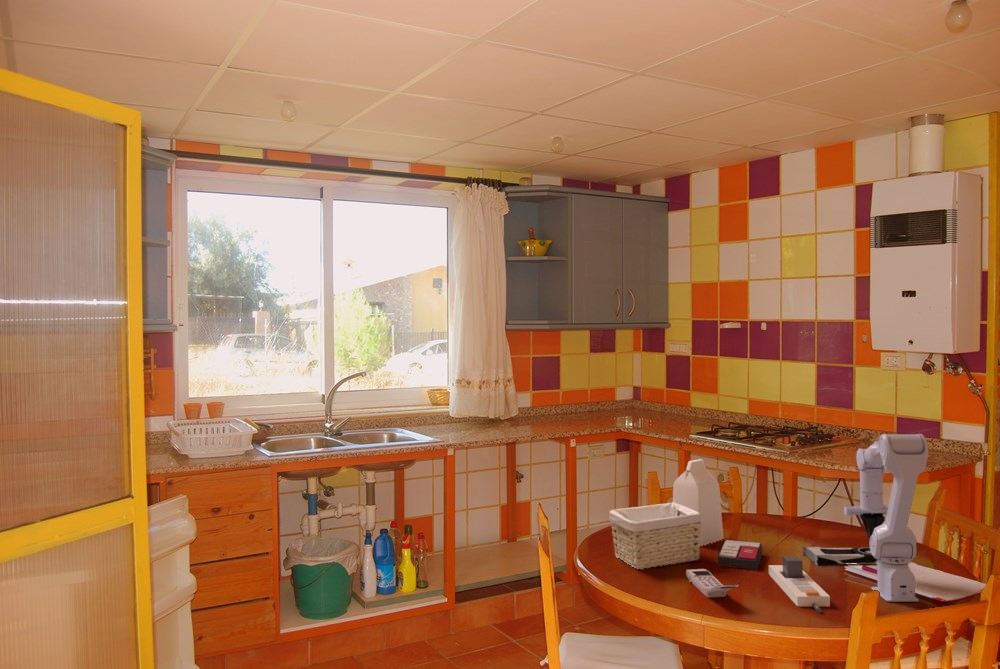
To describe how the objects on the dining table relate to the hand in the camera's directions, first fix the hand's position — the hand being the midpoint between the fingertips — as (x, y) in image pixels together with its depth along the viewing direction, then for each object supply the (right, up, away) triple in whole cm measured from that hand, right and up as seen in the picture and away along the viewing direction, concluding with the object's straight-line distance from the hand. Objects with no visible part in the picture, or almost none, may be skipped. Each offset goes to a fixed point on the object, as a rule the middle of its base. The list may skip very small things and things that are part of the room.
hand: (872, 540), depth 211 cm
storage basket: (-57, -11, +18) cm, 61 cm away
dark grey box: (-32, -11, +15) cm, 37 cm away
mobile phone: (-48, -11, -10) cm, 51 cm away
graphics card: (0, -10, +12) cm, 16 cm away
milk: (-39, -10, +37) cm, 55 cm away
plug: (-25, -10, -6) cm, 27 cm away
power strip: (-25, -10, -13) cm, 30 cm away
